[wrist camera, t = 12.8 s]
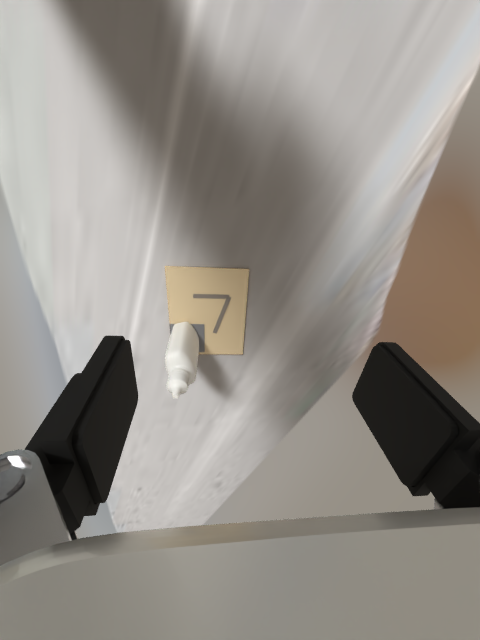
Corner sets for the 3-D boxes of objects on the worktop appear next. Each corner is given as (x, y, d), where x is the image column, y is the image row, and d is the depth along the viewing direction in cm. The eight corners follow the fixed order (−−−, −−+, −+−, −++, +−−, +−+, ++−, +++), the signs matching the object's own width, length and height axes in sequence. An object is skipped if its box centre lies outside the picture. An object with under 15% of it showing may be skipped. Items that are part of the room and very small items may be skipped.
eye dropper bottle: (169, 349, 39) (151, 411, 29) (174, 317, 37) (158, 373, 26) (197, 354, 40) (190, 416, 30) (205, 323, 38) (200, 380, 27)
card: (165, 266, 34) (164, 267, 33) (248, 268, 35) (249, 269, 34) (172, 353, 40) (172, 354, 40) (242, 353, 41) (242, 354, 41)
